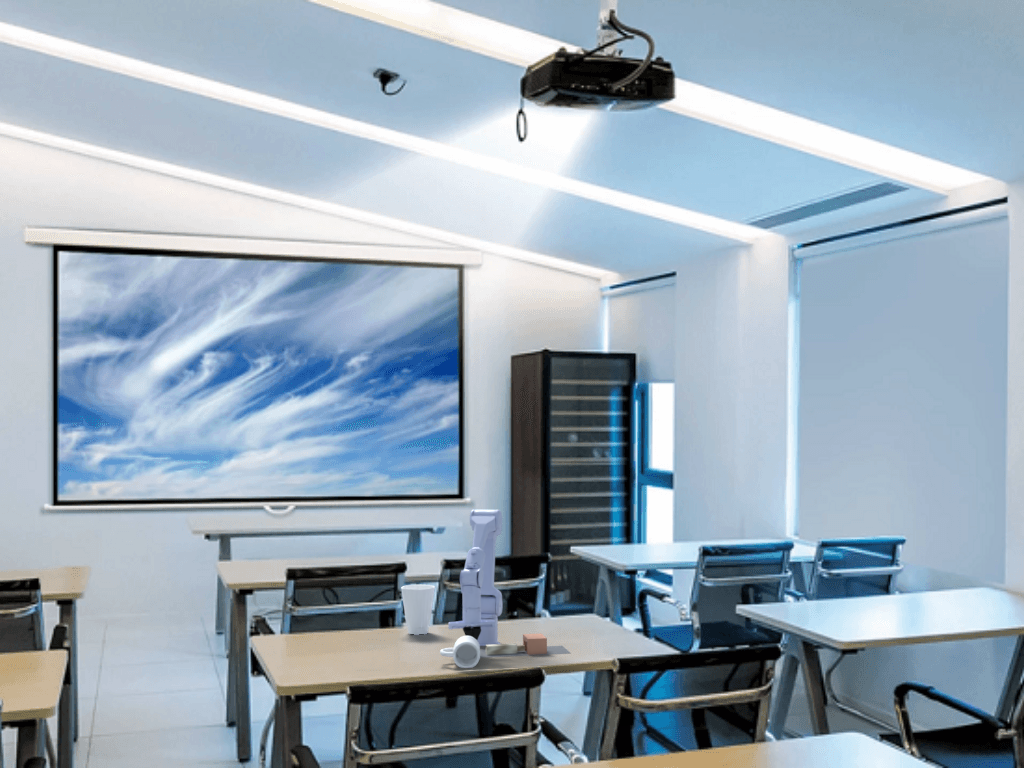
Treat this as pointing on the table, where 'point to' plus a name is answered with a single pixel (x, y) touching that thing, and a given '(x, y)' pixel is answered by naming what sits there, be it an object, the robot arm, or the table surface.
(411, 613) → the cup
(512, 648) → the cream rectangular block
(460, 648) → the mug
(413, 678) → the table surface
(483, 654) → the felt mat
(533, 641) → the salmon orange block
